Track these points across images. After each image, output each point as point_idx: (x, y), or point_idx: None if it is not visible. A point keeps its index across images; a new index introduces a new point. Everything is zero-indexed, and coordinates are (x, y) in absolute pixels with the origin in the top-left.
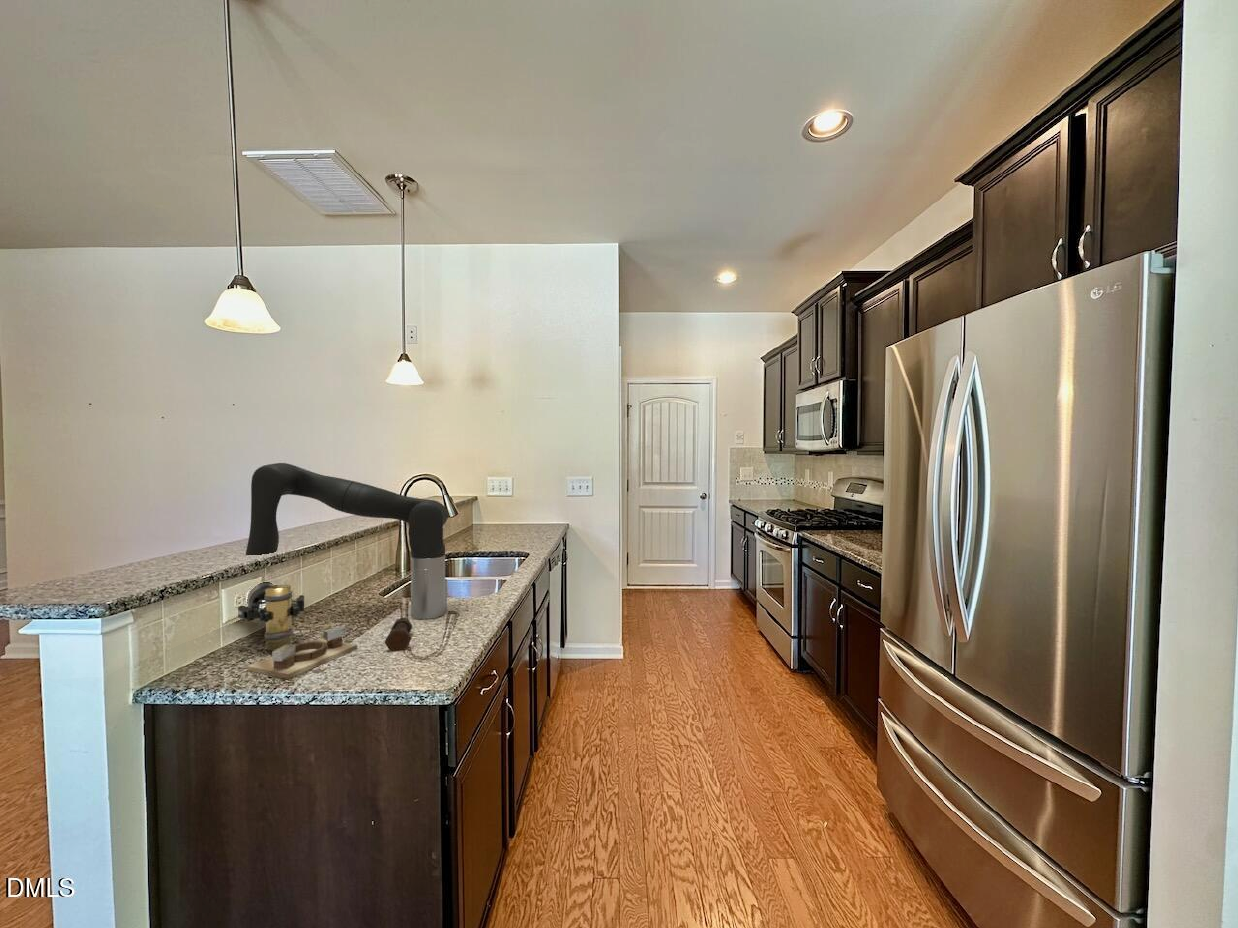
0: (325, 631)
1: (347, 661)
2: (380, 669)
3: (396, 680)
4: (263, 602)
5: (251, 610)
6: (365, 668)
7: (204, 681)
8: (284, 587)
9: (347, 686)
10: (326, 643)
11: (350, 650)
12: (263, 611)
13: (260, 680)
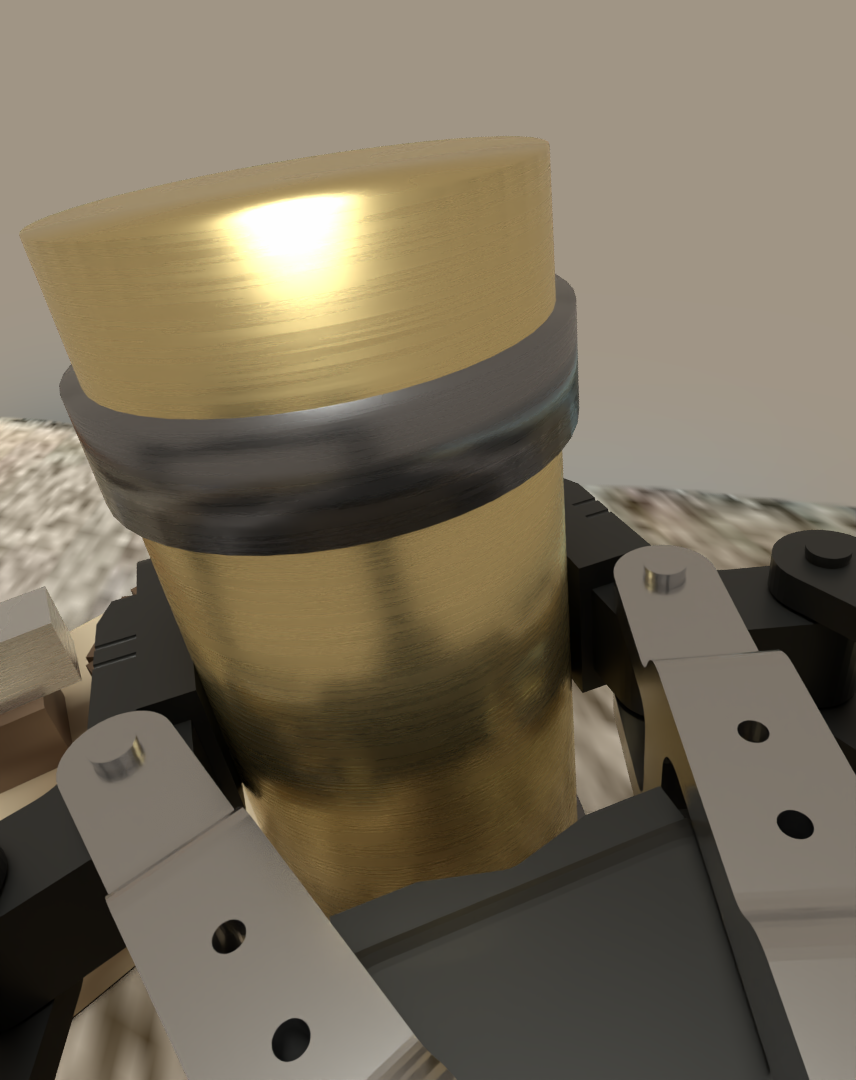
0: (47, 607)
1: (69, 598)
2: (7, 516)
3: (20, 458)
4: (810, 811)
5: (786, 539)
6: (46, 531)
7: (746, 545)
8: (184, 191)
9: None
10: (89, 652)
11: None
12: None
13: None
